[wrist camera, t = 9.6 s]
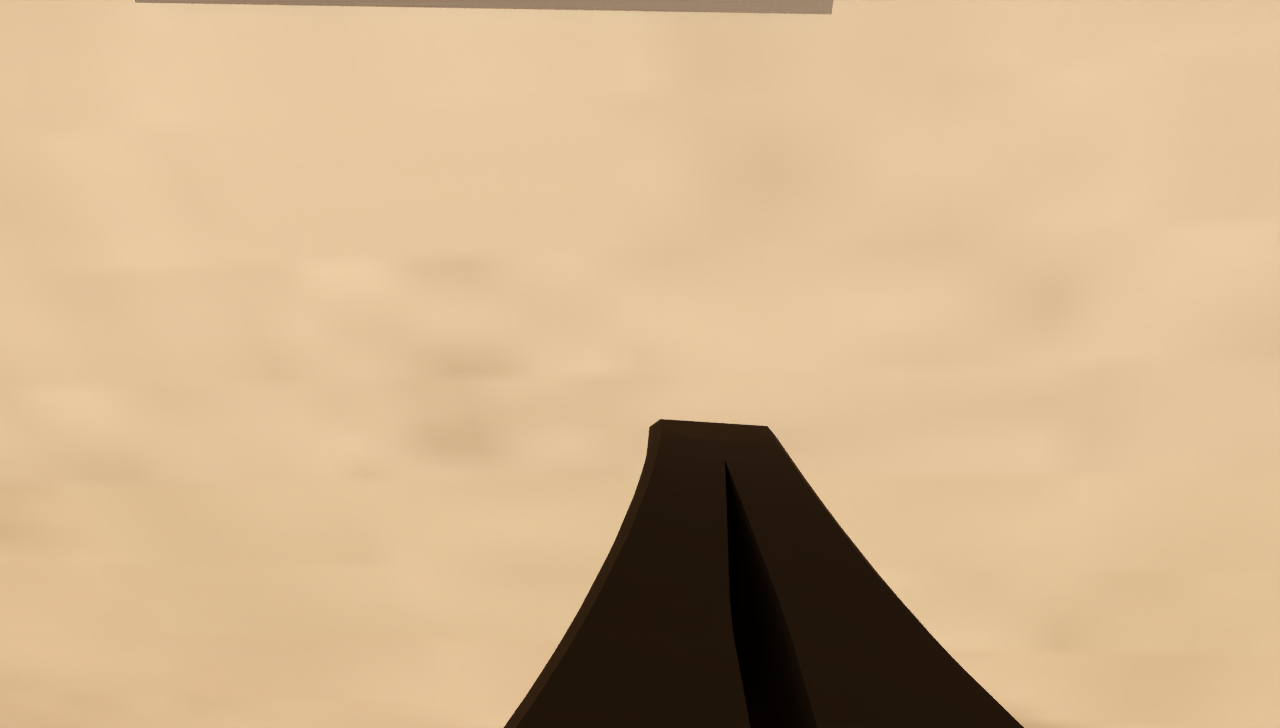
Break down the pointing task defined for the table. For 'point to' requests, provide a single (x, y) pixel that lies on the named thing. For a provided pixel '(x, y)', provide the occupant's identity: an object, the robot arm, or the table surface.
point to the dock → (565, 4)
